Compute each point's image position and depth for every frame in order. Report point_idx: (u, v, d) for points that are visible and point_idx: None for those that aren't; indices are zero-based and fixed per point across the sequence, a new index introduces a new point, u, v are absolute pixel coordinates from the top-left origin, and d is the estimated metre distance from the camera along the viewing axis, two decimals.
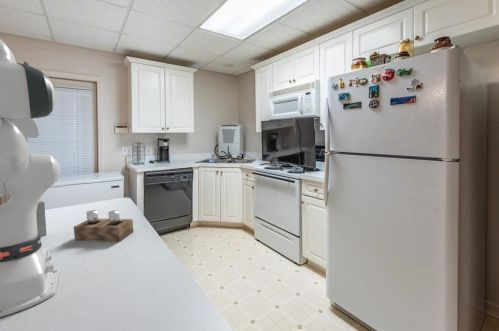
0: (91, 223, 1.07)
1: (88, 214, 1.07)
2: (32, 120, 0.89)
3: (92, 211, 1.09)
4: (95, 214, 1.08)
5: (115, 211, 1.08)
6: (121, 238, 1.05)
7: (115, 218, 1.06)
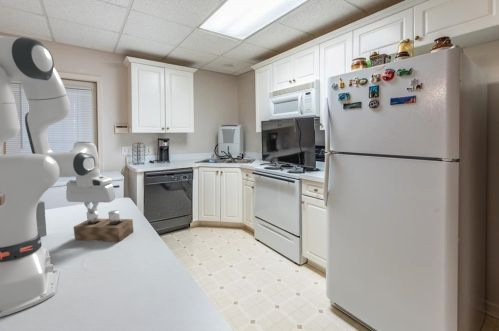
0: (91, 223, 1.07)
1: (88, 215, 1.07)
2: (104, 188, 1.04)
3: None
4: (95, 215, 1.08)
5: (115, 211, 1.08)
6: (121, 238, 1.05)
7: (115, 218, 1.06)
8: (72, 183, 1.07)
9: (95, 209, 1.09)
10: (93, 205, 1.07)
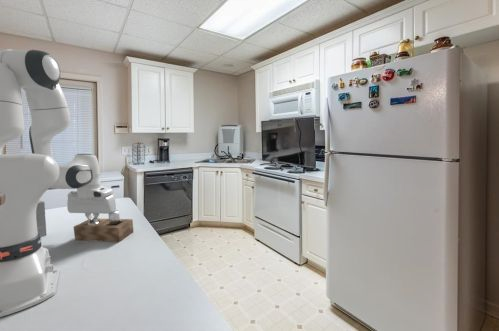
0: None
1: None
2: (105, 200, 1.05)
3: None
4: None
5: (115, 211, 1.08)
6: (121, 238, 1.05)
7: (115, 218, 1.06)
8: (73, 194, 1.08)
9: (96, 220, 1.09)
10: (94, 216, 1.08)
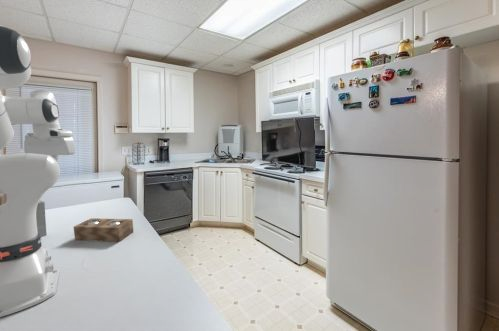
0: None
1: None
2: (62, 139, 1.00)
3: (93, 222, 1.09)
4: None
5: (116, 222, 1.09)
6: (121, 238, 1.05)
7: None
8: (30, 136, 1.04)
9: None
10: None
